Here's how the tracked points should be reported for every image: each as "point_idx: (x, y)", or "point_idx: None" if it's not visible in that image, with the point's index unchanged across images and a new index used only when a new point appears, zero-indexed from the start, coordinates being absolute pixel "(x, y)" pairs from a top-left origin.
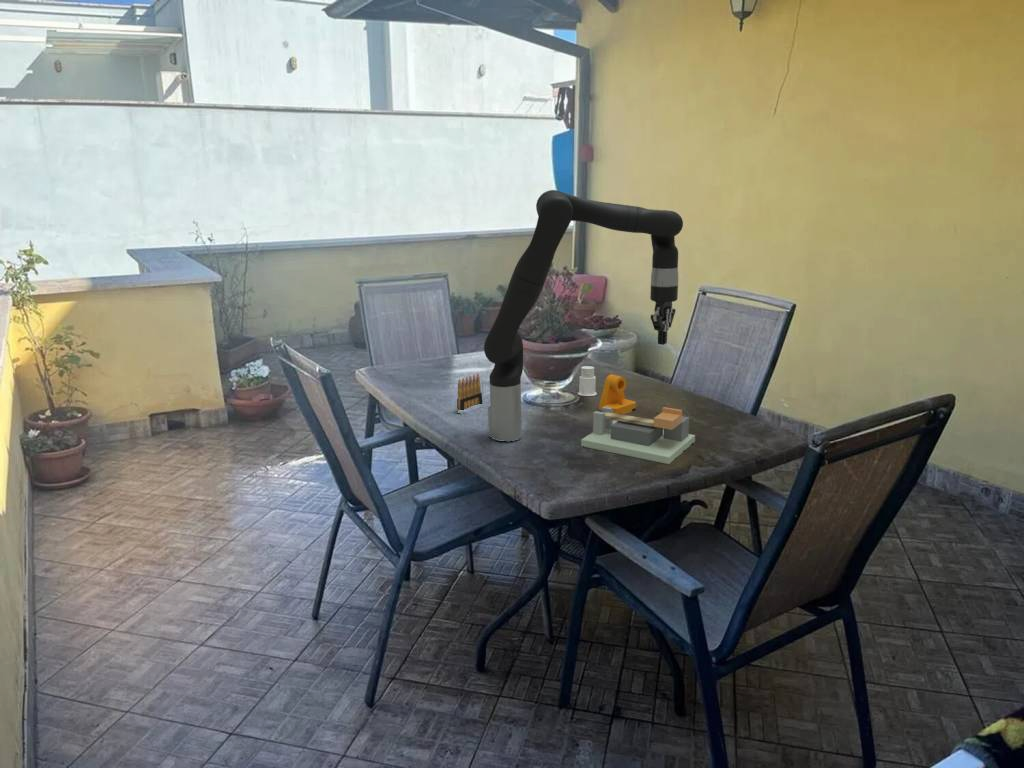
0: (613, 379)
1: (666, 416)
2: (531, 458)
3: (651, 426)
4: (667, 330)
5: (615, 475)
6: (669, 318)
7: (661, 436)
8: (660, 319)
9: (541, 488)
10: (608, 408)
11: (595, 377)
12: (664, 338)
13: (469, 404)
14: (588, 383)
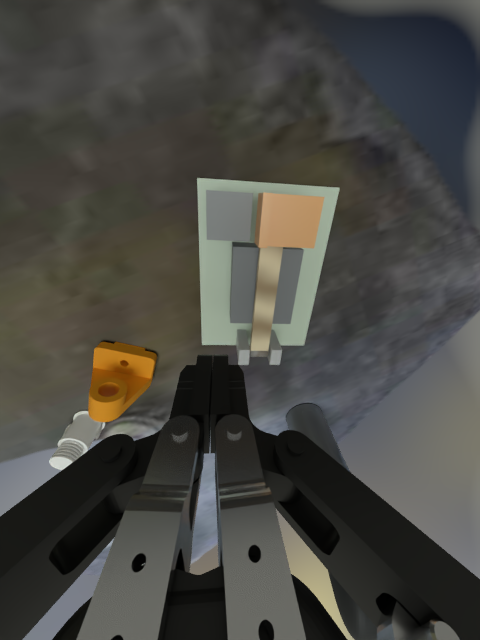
0: (115, 407)
1: (295, 224)
2: (360, 367)
3: None
4: (189, 419)
5: (398, 254)
6: (171, 567)
7: (239, 242)
8: (454, 599)
9: (451, 318)
10: (246, 354)
11: (65, 438)
12: (229, 379)
13: None
14: (87, 434)
